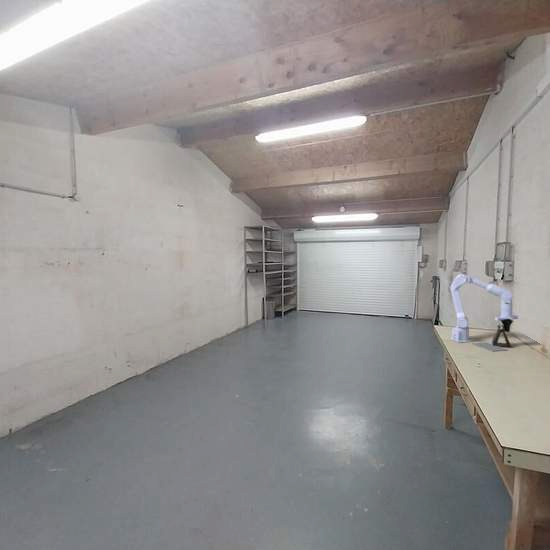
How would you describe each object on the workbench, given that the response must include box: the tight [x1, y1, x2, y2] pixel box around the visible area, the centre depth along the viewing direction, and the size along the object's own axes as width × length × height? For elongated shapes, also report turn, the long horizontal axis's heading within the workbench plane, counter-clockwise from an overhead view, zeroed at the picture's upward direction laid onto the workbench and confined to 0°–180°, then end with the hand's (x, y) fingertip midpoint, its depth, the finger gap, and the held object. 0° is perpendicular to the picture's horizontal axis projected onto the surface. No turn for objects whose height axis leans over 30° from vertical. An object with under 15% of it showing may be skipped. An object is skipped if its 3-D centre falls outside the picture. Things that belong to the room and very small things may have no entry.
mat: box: [472, 342, 509, 353], centre depth 177 cm, size 10×15×1 cm, turn 9°
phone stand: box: [491, 324, 512, 348], centre depth 179 cm, size 9×6×12 cm, turn 57°
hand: (506, 331), depth 179 cm, fingers closed, pressing on phone stand
